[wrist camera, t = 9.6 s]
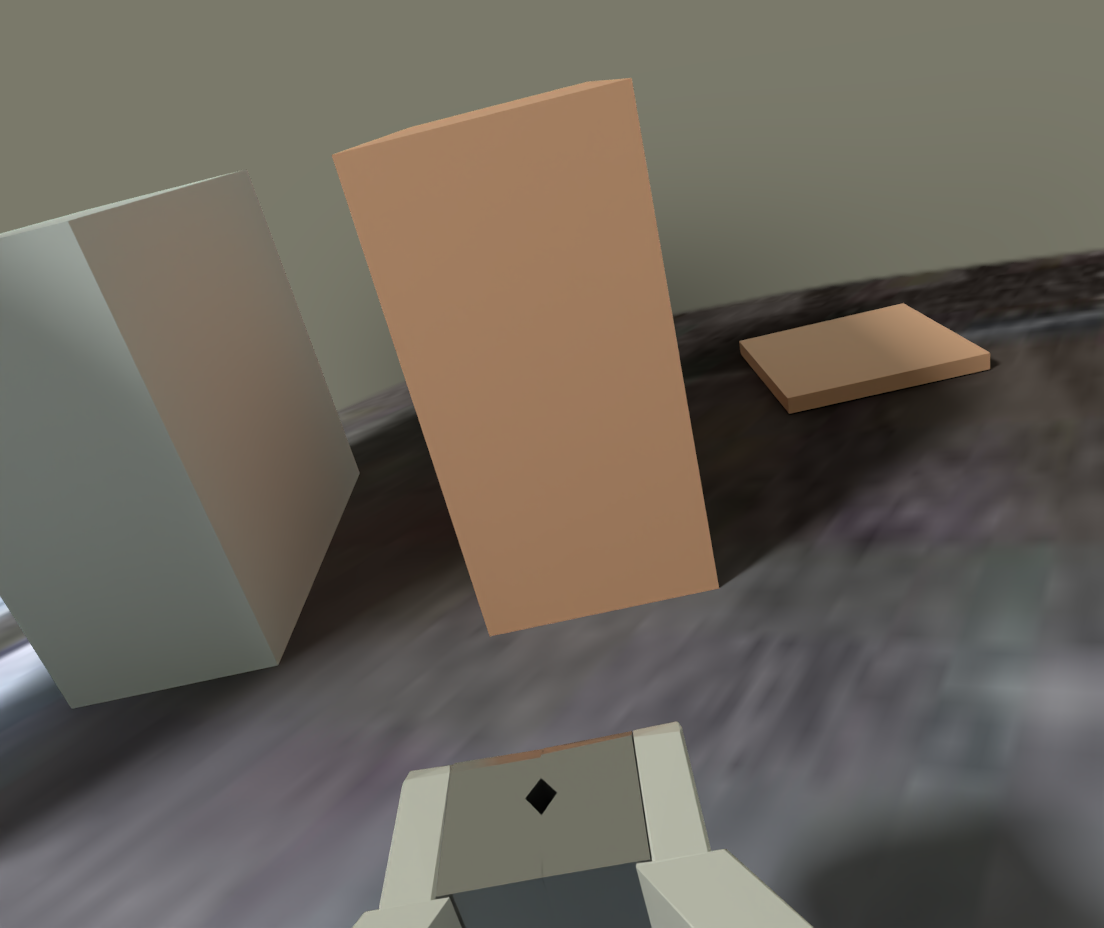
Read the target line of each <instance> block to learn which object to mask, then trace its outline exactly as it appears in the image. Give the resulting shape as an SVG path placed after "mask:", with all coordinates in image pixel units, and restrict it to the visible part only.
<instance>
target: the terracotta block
mask: <svg viewBox="0 0 1104 928" xmlns="http://www.w3.org/2000/svg"><path fill="white" fill-rule="evenodd" d="M332 157H333V161H334V163H335V167H336V170H337V172H338V176H339V178H340V182H341V184H342V188H343V191H344V194H345V197H346V200H347V203H348V206H349V209H350V212H351V215H352V218H353V221H354V224H355V227H356V231H357V234H358V237H359V240H360V243H361V246H362V248H363V252H364V255H365V258H366V261H367V264H368V267H369V270H370V273H371V276H372V279H373V282H374V285H375V288H376V291H377V294H378V298H379V301H380V304H381V306H382V310H383V313H384V316H385V319H386V322H387V325H388V328H389V331H390V334H391V337H392V340H393V343H394V346H395V349H396V352H397V355H398V358H399V361H400V364H401V368H402V370H403V374H404V377H405V380H406V383H407V386H408V389H409V392H410V395H411V398H412V401H413V404H414V407H415V410H416V413H417V416H418V419H419V422H420V425H421V428H422V431H423V434H424V438H425V441H426V444H427V447H428V450H429V453H430V456H431V459H432V462H433V465H434V468H435V471H436V474H437V477H438V480H439V483H440V486H441V489H442V492H443V495H444V498H445V501H446V504H447V508H448V511H449V514H450V517H451V520H452V523H453V526H454V529H455V532H456V535H457V538H458V541H459V544H460V547H461V550H462V553H463V556H464V559H465V562H466V565H467V568H468V571H469V574H470V578H471V581H472V584H473V587H474V590H475V593H476V596H477V599H478V602H479V605H480V608H481V611H482V614H483V617H484V620H485V623H486V626H487V629H488V632H489V635H490V636H493V635H498V634H503V633H508V632H512V631H517V630H522V629H527V628H532V627H536V626H541V625H546V624H551V623H556V622H560V621H565V620H570V619H575V618H579V617H584V616H589V615H594V614H599V613H603V612H608V611H613V610H618V609H622V608H627V607H632V606H637V605H642V604H646V603H651V602H656V601H661V600H665V599H670V598H675V597H680V596H685V595H689V594H694V593H699V592H704V591H708V590H713V589H718V588H719V585H718V579H717V573H716V567H715V561H714V556H713V550H712V544H711V538H710V532H709V526H708V521H707V515H706V509H705V503H704V497H703V491H702V486H701V480H700V474H699V468H698V462H697V456H696V451H695V445H694V439H693V433H692V427H691V421H690V416H689V410H688V404H687V398H686V392H685V386H684V381H683V375H682V369H681V363H680V357H679V351H678V346H677V340H676V334H675V328H674V322H673V316H672V311H671V305H670V299H669V293H668V288H667V282H666V276H665V270H664V264H663V259H662V252H661V247H660V241H659V235H658V229H657V223H656V217H655V212H654V206H653V200H652V194H651V188H650V182H649V177H648V171H647V165H646V159H645V153H644V147H643V142H642V136H641V130H640V124H639V119H638V113H637V107H636V101H635V95H634V89H633V84H632V78H627V79H614V80H602V81H591V82H584V83H581V84H577V85H573V86H569V87H565V88H561V89H557V90H553V91H549V92H546V93H542V94H538V95H534V96H530V97H526V98H522V99H518V100H514V101H510V102H507V103H503V104H499V105H495V106H491V107H487V108H484V109H479V110H475V111H472V112H468V113H464V114H460V115H456V116H452V117H448V118H444V119H440V120H437V121H433V122H429V123H425V124H421V125H417V126H413V127H410V128H407V129H404V130H401V131H398V132H396V133H393V134H390V135H387V136H384V137H381V138H378V139H376V140H373V141H370V142H367V143H364V144H362V145H358V146H356V147H353V148H350V149H347V150H345V151H342V152H339V153H336V154H333V155H332Z"/></svg>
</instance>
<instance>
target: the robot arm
mask: <svg viewBox="0 0 1104 928" xmlns="http://www.w3.org/2000/svg"><path fill="white" fill-rule="evenodd" d="M352 928H814V927H813V926H812V925H811V924H810V923H808V922H807V921H806V920H805V919H804V918H803V917H802V916H801V915H799V914H798V913H797V912H796V911H795V910H794V909H793V908H792V907H791V906H789V905H788V904H787V903H786V902H785V901H784V900H783V899H782V898H780V897H779V896H778V895H777V894H776V893H775V892H774V891H773V890H772V889H770V888H769V887H768V886H767V885H766V884H765V883H764V882H763V881H762V880H760V879H759V878H758V877H757V876H756V875H755V874H754V873H753V872H751V871H750V870H749V869H748V868H747V867H746V866H745V865H744V864H743V863H741V862H740V861H739V860H738V859H737V858H736V857H735V856H734V855H732V854H731V853H730V852H729V851H728V850H727V849H722V850H715V851H711V848H710V844H709V840H708V836H707V832H706V827H705V823H704V819H703V815H702V810H701V806H700V802H699V798H698V794H697V789H696V785H695V781H694V777H693V773H692V768H691V764H690V760H689V756H688V751H687V747H686V743H685V739H684V735H683V730H682V727H681V726H680V724H679V723H678V722H673V723H668V724H663V725H658V726H653V727H648V728H643V729H638V730H633V733H632V731H630V732H625V733H620V734H615V735H610V736H605V737H600V738H594V739H589V740H584V741H579V742H574V743H569V744H564V745H559V746H554V747H549V748H544V749H541V750H534V751H528V752H522V753H516V754H510V755H503V756H497V757H491V758H485V759H479V760H472V761H466V762H460V763H455V764H454V765H449V766H442V767H436V768H429V769H423V770H416V771H410V772H409V774H408V776H407V777H406V779H405V781H404V783H403V785H402V790H401V795H400V800H399V806H398V811H397V816H396V822H395V827H394V832H393V837H392V843H391V848H390V853H389V858H388V864H387V869H386V874H385V880H384V885H383V890H382V895H381V901H380V906H379V909H377V910H372V911H367V912H364V913H363V915H362V916H361V917H360V918H359V920H358V921H357V922H356V923H355V925H354V926H353V927H352Z"/></svg>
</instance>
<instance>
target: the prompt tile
mask: <svg viewBox="0 0 1104 928" xmlns="http://www.w3.org/2000/svg"><path fill="white" fill-rule="evenodd" d="M739 344H740V351H741V355H742V356H743V357H744V359H745V360H746V361H747V362H748V364H749V365H750V366H751V367H752V369H753V370H754V371H755V372H756V373H757V375H758V376H759V377H760V378H761V380H762V381H763V382H764V383H765V385H766V386H767V387H768V388H769V389H770V391H771V392H772V393H773V394H774V396H775V397H776V398H777V399H778V401H779V402H780V403H781V404H782V405H783V407H784V408H785V409H786V410H787V412H788V413H789V414H791V413H795V412H800V411H804V410H809V409H813V408H818V407H822V406H827V405H831V404H836V403H840V402H845V401H849V400H854V399H858V398H863V397H867V396H872V395H876V394H881V393H885V392H890V391H894V390H899V389H903V388H908V387H912V386H917V385H921V384H926V383H930V382H935V381H939V380H944V379H948V378H953V377H957V376H962V375H966V374H971V373H975V372H979V371H984V370H988V369H990V353H989V352H988V351H986V350H984V349H982V348H981V347H979V346H977V345H975V344H974V343H972V342H970V341H968V340H967V339H965V338H963V337H961V336H960V335H958V334H956V333H954V332H953V331H951V330H949V329H947V328H946V327H944V326H942V325H940V324H939V323H937V322H935V321H933V320H931V319H930V318H928V317H926V316H924V315H923V314H921V313H919V312H917V311H916V310H914V309H912V308H910V307H909V306H907V305H905V304H898V305H894V306H890V307H885V308H881V309H877V310H872V311H868V312H864V313H859V314H855V315H851V316H846V317H842V318H837V319H833V320H829V321H824V322H820V323H816V324H811V325H807V326H803V327H798V328H794V329H790V330H785V331H781V332H777V333H772V334H768V335H764V336H759V337H755V338H751V339H746V340H742V341H739Z"/></svg>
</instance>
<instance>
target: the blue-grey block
mask: <svg viewBox="0 0 1104 928" xmlns="http://www.w3.org/2000/svg"><path fill="white" fill-rule="evenodd" d="M359 474H360V473H359V470H358V467H357V464H356V462H355V459H354V456H353V454H352V451H351V448H350V446H349V443H348V440H347V438H346V435H345V432H344V429H343V427H342V424H341V421H340V419H339V416H338V413H337V411H336V408H335V405H334V403H333V400H332V397H331V394H330V392H329V389H328V387H327V384H326V381H325V378H324V376H323V373H322V370H321V368H320V365H319V363H318V359H317V357H316V354H315V352H314V349H313V346H312V343H311V341H310V338H309V335H308V333H307V330H306V327H305V325H304V322H303V319H302V316H301V314H300V311H299V308H298V306H297V303H296V300H295V298H294V295H293V293H292V290H291V287H290V284H289V282H288V279H287V276H286V273H285V271H284V268H283V265H282V263H281V260H280V257H279V255H278V252H277V249H276V247H275V244H274V241H273V238H272V236H271V233H270V230H269V228H268V225H267V222H266V220H265V217H264V214H263V212H262V209H261V206H260V203H259V201H258V198H257V195H256V193H255V190H254V187H253V185H252V182H251V179H250V176H249V174H248V171H247V169H245V170H241V171H237V172H233V173H229V174H226V175H222V176H218V177H214V178H210V179H206V180H202V181H198V182H194V183H190V184H186V185H182V186H178V187H175V188H171V189H167V190H163V191H159V192H155V193H151V194H147V195H143V196H140V197H135V198H131V199H128V200H123V201H119V202H116V203H112V204H108V205H104V206H100V207H96V208H92V209H89V210H84V211H81V212H77V213H73V214H70V215H66V216H63V217H59V218H56V219H52V220H48V221H44V222H41V223H37V224H34V225H30V226H27V227H23V228H19V229H16V230H12V231H8V232H5V233H1V234H0V596H1V598H2V599H3V601H4V603H5V604H6V606H7V607H8V609H9V610H10V612H11V614H12V615H13V617H14V618H15V620H16V622H17V623H18V625H19V626H20V628H21V630H22V631H23V633H24V634H25V636H26V637H27V639H28V641H29V642H30V644H31V645H32V647H33V649H34V650H35V652H36V653H37V655H38V656H39V658H40V660H41V661H42V663H43V664H44V666H45V668H46V669H47V671H48V672H49V674H50V675H51V677H52V679H53V680H54V682H55V683H56V685H57V687H58V688H59V690H60V691H61V693H62V694H63V696H64V698H65V699H66V701H67V702H68V704H69V706H70V707H71V709H74V708H79V707H83V706H88V705H93V704H97V703H102V702H107V701H112V700H116V699H121V698H126V697H131V696H135V695H140V694H145V693H150V692H154V691H159V690H164V689H169V688H173V687H178V686H183V685H187V684H192V683H197V682H202V681H206V680H211V679H216V678H221V677H225V676H230V675H235V674H240V673H244V672H249V671H254V670H258V669H263V668H268V667H273V666H277V665H279V662H280V660H281V658H282V655H283V653H284V651H285V648H286V646H287V644H288V641H289V639H290V637H291V634H292V632H293V629H294V627H295V625H296V622H297V620H298V618H299V615H300V613H301V611H302V608H303V606H304V604H305V601H306V599H307V596H308V594H309V592H310V589H311V587H312V585H313V582H314V580H315V578H316V575H317V573H318V571H319V568H320V566H321V563H322V561H323V559H324V556H325V554H326V552H327V549H328V547H329V545H330V542H331V540H332V538H333V535H334V533H335V530H336V528H337V526H338V523H339V521H340V519H341V516H342V514H343V512H344V509H345V507H346V505H347V502H348V500H349V497H350V495H351V493H352V490H353V488H354V486H355V483H356V481H357V479H358V476H359Z"/></svg>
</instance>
